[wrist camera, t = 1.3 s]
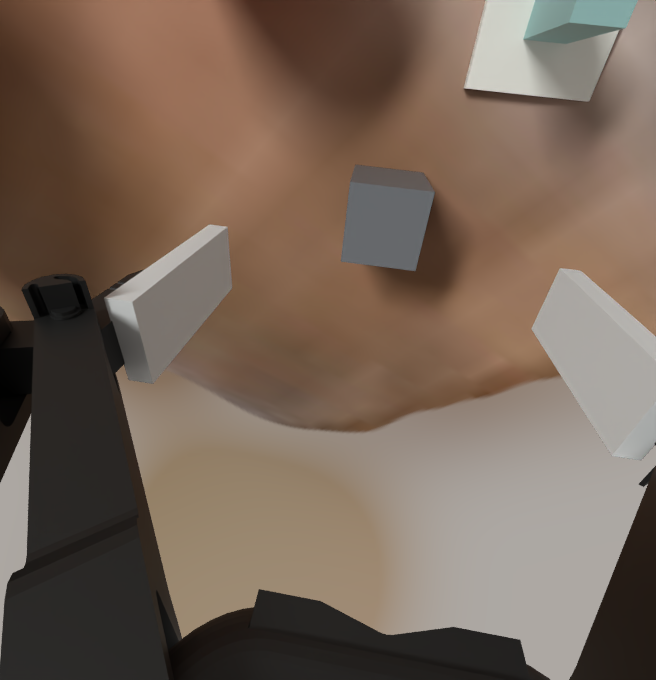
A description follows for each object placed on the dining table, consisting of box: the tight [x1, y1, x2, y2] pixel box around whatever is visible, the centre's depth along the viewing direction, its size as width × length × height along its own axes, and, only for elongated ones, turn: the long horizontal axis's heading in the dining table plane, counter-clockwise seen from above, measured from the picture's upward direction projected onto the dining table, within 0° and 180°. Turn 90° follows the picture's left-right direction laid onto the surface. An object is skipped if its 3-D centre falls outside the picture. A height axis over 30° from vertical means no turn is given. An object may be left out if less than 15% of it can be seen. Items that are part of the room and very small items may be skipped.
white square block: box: [464, 0, 638, 102], centre depth 19 cm, size 8×8×7 cm
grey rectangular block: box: [341, 165, 435, 271], centre depth 26 cm, size 5×5×7 cm
